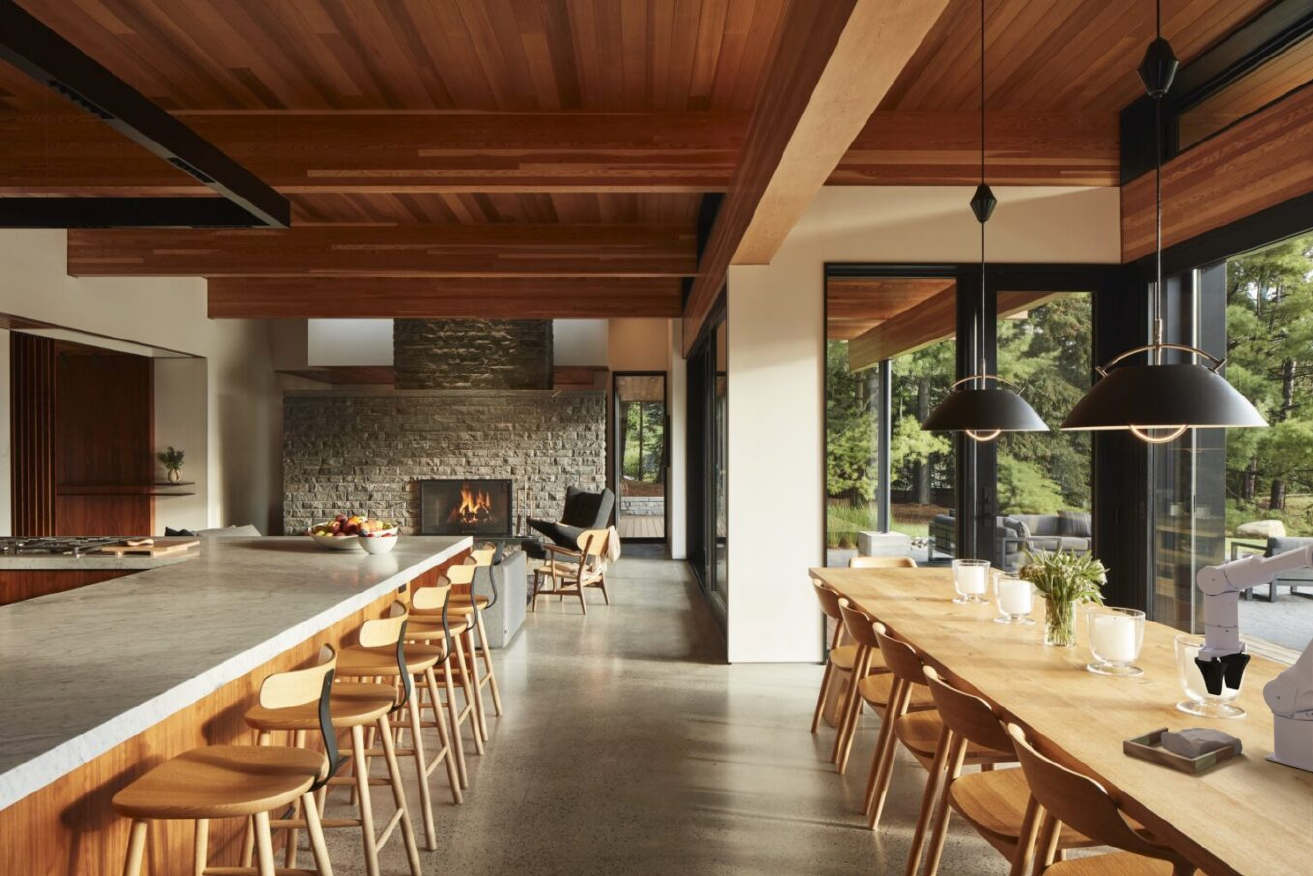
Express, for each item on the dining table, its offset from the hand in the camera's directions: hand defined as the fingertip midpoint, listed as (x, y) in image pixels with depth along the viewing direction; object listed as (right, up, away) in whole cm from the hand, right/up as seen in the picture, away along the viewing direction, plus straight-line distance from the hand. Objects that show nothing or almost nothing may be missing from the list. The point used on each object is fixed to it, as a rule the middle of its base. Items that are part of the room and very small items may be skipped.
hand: (1223, 691), depth 169 cm
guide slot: (-15, -10, -9) cm, 20 cm away
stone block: (-9, -10, -6) cm, 15 cm away
